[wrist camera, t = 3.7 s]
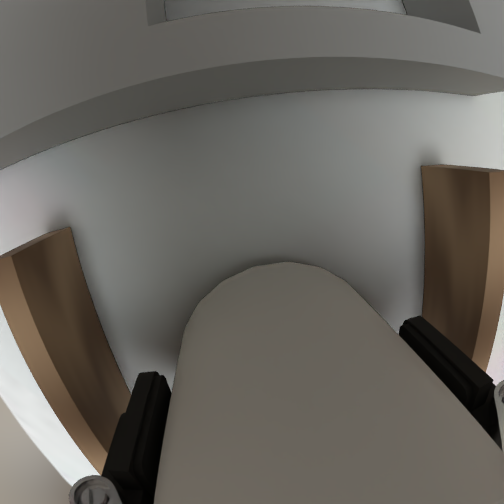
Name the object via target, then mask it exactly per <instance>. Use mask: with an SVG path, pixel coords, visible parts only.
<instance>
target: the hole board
mask: <svg viewBox="0 0 504 504" xmlns="http://www.w3.org/2000/svg"><path fill="white" fill-rule="evenodd" d="M402 1H403V4H404V6H405V9H406V12H407V15H404V14H398V13H391V12H385V11H377V10H369V9H359V8H347V7H329V6H278V7H261V8H248V9H238V10H230V11H222V12H215V13H208V14H202V15H196V16H191V17H186V18H181V19H176V20H172V21H167V22H166V15H165V6H164V0H0V170H1V169H3V168H5V167H7V166H10V165H12V164H14V163H16V162H18V161H21V160H23V159H25V158H28V157H30V156H32V155H35V154H37V153H39V152H42V151H44V150H47V149H49V148H52V147H55V146H57V145H60V144H62V143H65V142H68V141H71V140H73V139H76V138H79V137H82V136H85V135H88V134H91V133H94V132H97V131H100V130H103V129H106V128H110V127H113V126H116V125H120V124H123V123H127V122H130V121H134V120H137V119H141V118H145V117H149V116H153V115H157V114H161V113H165V112H170V111H174V110H178V109H183V108H188V107H193V106H198V105H203V104H208V103H214V102H220V101H226V100H232V99H238V98H245V97H252V96H260V95H269V94H278V93H288V92H300V91H313V90H332V89H402V90H421V91H434V92H445V93H454V94H462V95H470V96H476V95H482V94H488V93H495V92H501V91H504V0H402Z"/></svg>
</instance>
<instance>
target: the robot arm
mask: <svg viewBox="0 0 504 504" xmlns="http://www.w3.org/2000/svg"><path fill="white" fill-rule="evenodd" d="M399 336H400V337H401V338H402V339H403V340H404V341H405V342H406V343H407V344H408V345H409V346H410V348H411V349H412V350H413V351H414V352H415V353H416V354H417V355H418V356H419V357H420V358H421V359H422V360H423V361H424V362H425V364H426V365H427V366H428V367H429V368H430V369H431V370H432V371H433V372H434V373H435V374H436V376H437V377H438V378H439V379H440V380H441V381H442V382H443V383H444V384H445V385H446V387H447V388H448V389H449V390H450V391H451V392H452V393H453V394H454V395H455V397H456V398H457V399H458V400H459V401H460V402H461V403H462V405H463V406H464V407H465V408H466V409H467V410H468V411H469V413H470V414H471V415H472V416H473V417H474V418H475V419H476V421H477V422H478V423H479V424H480V425H481V426H482V428H483V429H484V430H485V431H486V432H487V434H488V435H489V436H490V437H491V438H492V439H493V441H494V442H495V443H496V444H497V445H498V447H499V448H500V449H501V450H502V452H503V453H504V380H503V381H501V382H500V383H499V384H498V385H497V386H495V385H494V384H493V379H492V378H491V377H490V376H489V375H488V374H486V373H485V372H484V371H483V370H482V369H481V368H480V367H479V366H478V365H477V364H476V363H474V362H473V361H472V360H471V359H470V358H469V357H468V356H467V355H466V354H464V353H463V352H462V351H461V350H460V349H459V348H458V347H457V346H455V345H454V344H453V343H452V342H451V341H450V340H449V339H447V338H446V337H445V336H444V335H443V334H442V333H441V332H439V331H438V330H437V329H436V328H435V327H434V326H432V325H431V324H430V323H429V322H428V321H426V320H425V319H424V318H423V317H421V316H417V317H413V318H410V319H407V320H405V321H404V323H403V325H402V326H400V329H399ZM171 394H172V393H171V391H170V388H169V386H168V383H167V381H166V378H165V376H164V375H159V373H158V372H156V371H154V372H143V373H139V375H138V377H137V380H136V383H135V386H134V389H133V392H132V395H131V397H130V400H129V403H128V406H127V409H126V412H125V413H123V414H121V416H120V418H119V421H118V424H117V427H116V430H115V433H114V436H113V439H112V442H111V445H110V448H109V452H108V455H107V458H106V461H105V465H104V468H103V471H102V475H101V476H98V475H91V476H86V477H84V478H82V479H80V480H78V481H77V482H76V483H75V484H74V485H73V487H72V488H71V490H70V494H69V502H70V504H154V497H155V490H156V483H157V476H158V470H159V463H160V457H161V451H162V445H163V439H164V433H165V427H166V421H167V416H168V410H169V405H170V399H171Z"/></svg>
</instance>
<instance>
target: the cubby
mask: <svg viewBox="0 0 504 504" xmlns="http://www.w3.org/2000/svg"><path fill="white" fill-rule="evenodd" d="M421 171H422V183H423V197H424V217H425V275H424V296H423V310H422V317H423V318H424V319H425V320H426V321H428V322H429V323H430V324H431V325H432V326H434V327H435V328H436V329H437V330H438V331H439V332H441V333H442V334H443V335H444V336H445V337H446V338H447V339H449V340H450V341H451V342H452V343H453V344H454V345H455V346H457V347H458V348H459V349H460V350H461V351H462V352H463V353H464V354H466V355H467V356H468V357H469V358H470V359H471V360H472V361H473V362H474V363H476V364H477V365H478V366H479V367H480V368H481V369H482V370H483V371H484V372H485V373H486V369H487V366H488V362H489V359H490V355H491V351H492V347H493V343H494V339H495V335H496V331H497V326H498V321H499V316H500V311H501V306H502V300H503V294H504V170H498V169H489V168H479V167H468V166H456V165H428V166H421ZM0 305H1V307H2V310H3V313H4V315H5V318H6V320H7V322H8V325H9V327H10V329H11V332H12V334H13V336H14V339H15V341H16V343H17V345H18V347H19V349H20V351H21V353H22V355H23V357H24V359H25V361H26V363H27V365H28V367H29V369H30V371H31V373H32V375H33V377H34V379H35V380H36V382H37V384H38V386H39V388H40V389H41V391H42V393H43V394H44V396H45V398H46V400H47V401H48V403H49V404H50V406H51V408H52V409H53V411H54V412H55V414H56V416H57V417H58V419H59V420H60V422H61V423H62V425H63V426H64V428H65V429H66V431H67V432H68V433H69V435H70V436H71V438H72V439H73V441H74V442H75V443H76V445H77V446H78V447H79V449H80V450H81V451H82V453H83V454H84V455H85V457H86V458H87V459H88V460H89V462H90V463H91V464H92V465H93V467H94V468H95V469H96V470H97V472H98V473H99V474H100V475H102V471H103V468H104V465H105V461H106V458H107V455H108V452H109V448H110V445H111V442H112V439H113V436H114V433H115V430H116V427H117V424H118V421H119V418H120V416H121V414H123V413H125V412H126V409H127V406H128V403H129V400H130V397H131V394H130V392H129V390H128V388H127V386H126V384H125V381H124V379H123V377H122V375H121V373H120V370H119V368H118V366H117V364H116V361H115V359H114V357H113V354H112V352H111V350H110V347H109V345H108V342H107V340H106V337H105V335H104V332H103V330H102V327H101V324H100V322H99V319H98V316H97V314H96V311H95V308H94V305H93V302H92V299H91V297H90V294H89V291H88V288H87V284H86V281H85V278H84V275H83V272H82V268H81V265H80V262H79V258H78V255H77V251H76V247H75V244H74V240H73V236H72V232H71V228H70V227H68V228H64V229H60V230H57V231H53V232H49V233H46V234H44V235H42V236H40V237H38V238H35V239H33V240H31V241H29V242H27V243H25V244H23V245H21V246H19V247H17V248H15V249H13V250H11V251H9V252H7V253H5V254H3V255H1V256H0Z"/></svg>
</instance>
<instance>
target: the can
mask: <svg viewBox="0 0 504 504" xmlns="http://www.w3.org/2000/svg"><path fill="white" fill-rule="evenodd" d="M154 504H504V453H503V452H502V450H501V449H500V448H499V447H498V445H497V444H496V443H495V442H494V441H493V439H492V438H491V437H490V436H489V435H488V434H487V432H486V431H485V430H484V429H483V428H482V426H481V425H480V424H479V423H478V422H477V421H476V419H475V418H474V417H473V416H472V415H471V414H470V413H469V411H468V410H467V409H466V408H465V407H464V406H463V405H462V403H461V402H460V401H459V400H458V399H457V398H456V397H455V395H454V394H453V393H452V392H451V391H450V390H449V389H448V388H447V387H446V385H445V384H444V383H443V382H442V381H441V380H440V379H439V378H438V377H437V376H436V374H435V373H434V372H433V371H432V370H431V369H430V368H429V367H428V366H427V365H426V364H425V362H424V361H423V360H422V359H421V358H420V357H419V356H418V355H417V354H416V353H415V352H414V351H413V350H412V349H411V348H410V346H409V345H408V344H407V343H406V342H405V341H404V340H403V339H402V338H401V337H400V336H399V335H398V334H397V333H396V332H395V331H394V330H393V329H392V328H391V327H390V326H389V325H388V323H387V322H386V321H385V320H384V319H383V318H382V317H381V316H380V315H379V314H378V313H377V312H376V311H375V310H374V309H373V308H372V307H371V306H370V305H369V304H368V303H367V302H366V301H365V300H364V299H363V298H362V297H361V296H360V295H359V294H358V293H357V292H356V291H355V290H354V289H353V288H352V287H351V286H350V285H349V284H348V283H347V282H346V281H344V280H343V279H341V278H339V277H337V276H335V275H334V274H332V273H330V272H328V271H326V270H325V269H323V268H321V267H317V266H311V265H305V264H299V263H293V262H282V263H275V264H268V265H260V266H254V267H252V268H249V269H247V270H245V271H243V272H241V273H239V274H236V275H234V276H232V277H230V278H228V279H226V280H223V281H222V282H221V283H220V284H219V285H217V286H216V287H215V288H214V289H213V290H212V291H211V292H210V293H209V294H208V295H206V296H205V297H204V298H203V299H202V300H201V301H200V302H199V303H198V305H197V306H196V308H195V310H194V312H193V314H192V316H191V318H190V319H189V321H188V323H187V325H186V327H185V329H184V334H183V339H182V344H181V348H180V353H179V358H178V363H177V368H176V373H175V378H174V383H173V388H172V394H171V399H170V405H169V410H168V416H167V421H166V427H165V433H164V439H163V445H162V451H161V457H160V463H159V470H158V476H157V483H156V490H155V497H154Z"/></svg>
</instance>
